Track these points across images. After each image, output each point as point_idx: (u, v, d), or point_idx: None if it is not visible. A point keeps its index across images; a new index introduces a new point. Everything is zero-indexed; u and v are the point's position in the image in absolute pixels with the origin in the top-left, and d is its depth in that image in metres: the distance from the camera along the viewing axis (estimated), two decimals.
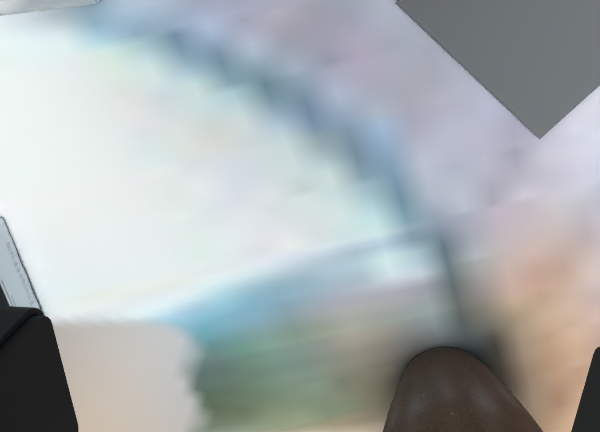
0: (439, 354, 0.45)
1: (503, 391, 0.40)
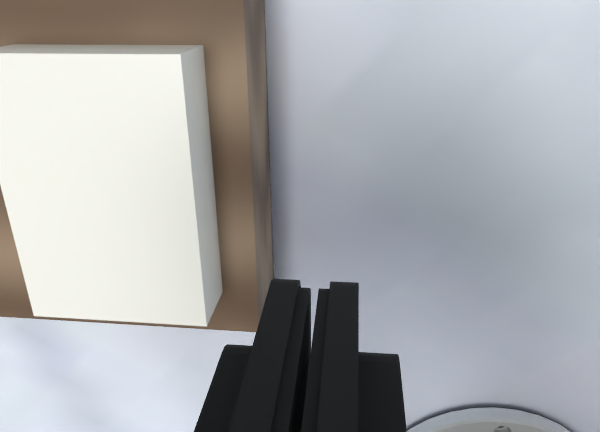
0: None
1: None
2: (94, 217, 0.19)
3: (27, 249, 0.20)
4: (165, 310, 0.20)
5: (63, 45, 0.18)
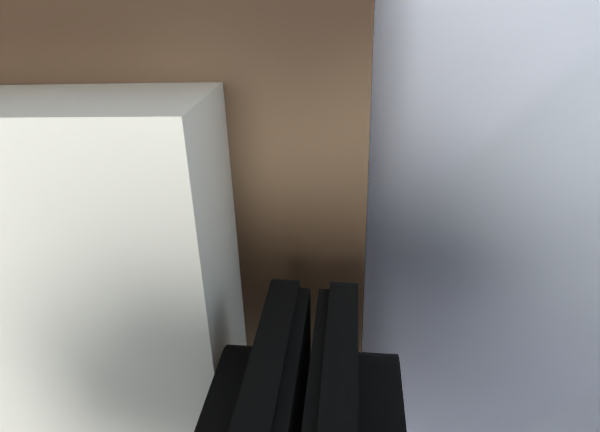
0: None
1: None
2: (29, 407, 0.10)
3: None
4: None
5: None
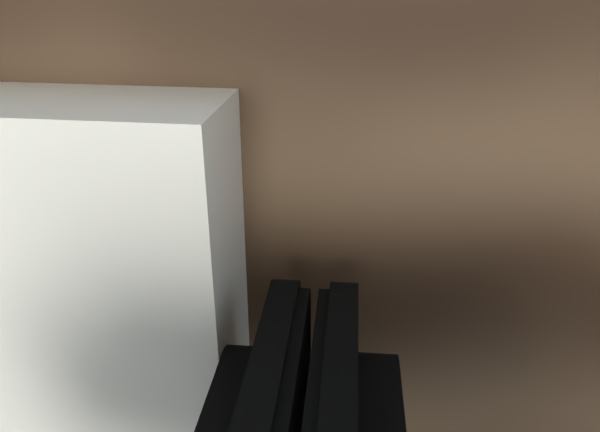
0: None
1: None
2: (32, 404, 0.10)
3: None
4: None
5: None
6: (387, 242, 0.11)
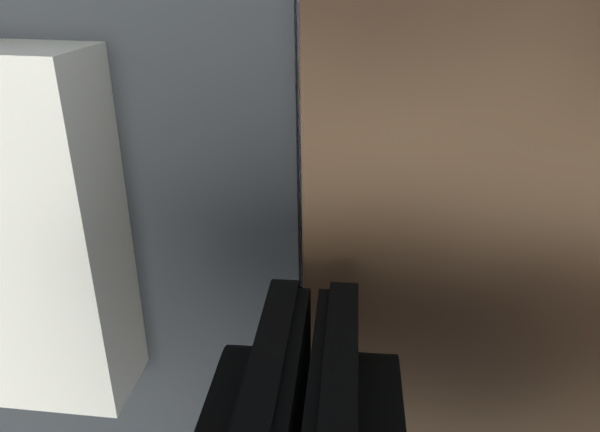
0: None
1: None
2: None
3: None
4: None
5: None
6: None
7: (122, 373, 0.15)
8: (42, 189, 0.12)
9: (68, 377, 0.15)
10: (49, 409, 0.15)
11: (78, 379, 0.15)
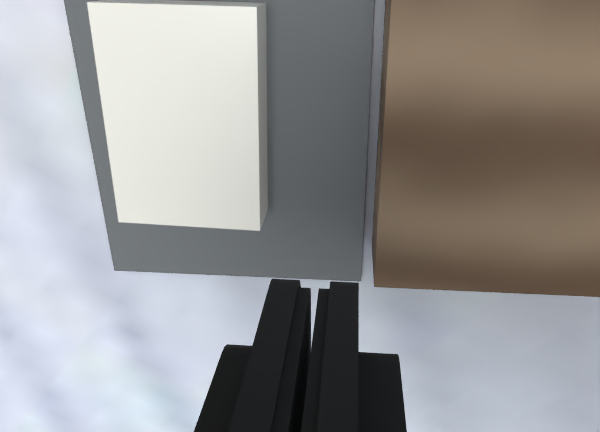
0: None
1: None
2: None
3: None
4: None
5: (207, 4, 0.21)
6: None
7: (262, 205, 0.25)
8: (238, 82, 0.22)
9: (233, 203, 0.25)
10: (217, 227, 0.26)
11: (239, 204, 0.25)
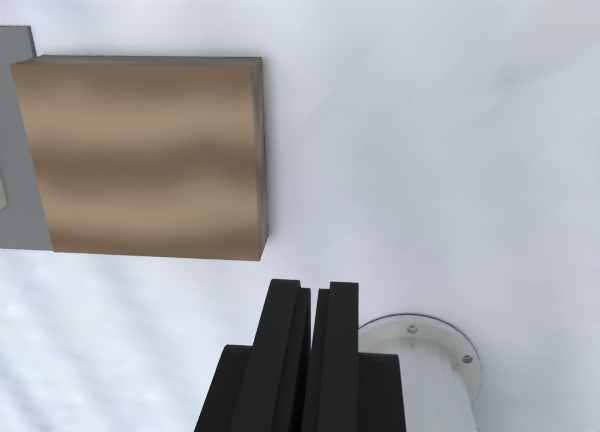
0: None
1: None
2: None
3: None
4: None
5: None
6: (161, 144, 0.36)
7: None
8: None
9: None
10: None
11: None
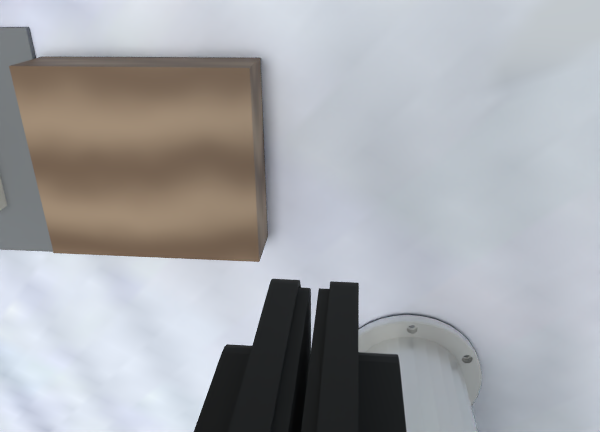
0: None
1: None
2: None
3: None
4: None
5: None
6: (161, 145, 0.36)
7: None
8: None
9: None
10: None
11: None
